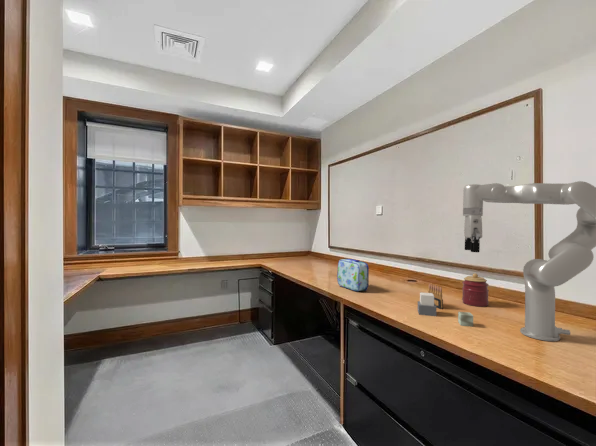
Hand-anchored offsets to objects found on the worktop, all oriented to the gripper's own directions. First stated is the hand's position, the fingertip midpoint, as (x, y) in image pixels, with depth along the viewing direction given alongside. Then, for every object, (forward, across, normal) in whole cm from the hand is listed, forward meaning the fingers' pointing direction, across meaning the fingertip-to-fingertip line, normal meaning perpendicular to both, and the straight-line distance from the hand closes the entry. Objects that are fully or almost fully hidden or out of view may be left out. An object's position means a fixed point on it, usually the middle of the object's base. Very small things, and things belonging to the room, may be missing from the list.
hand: (471, 251), depth 126 cm
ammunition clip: (+35, +31, +9) cm, 48 cm away
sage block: (+34, +4, +1) cm, 35 cm away
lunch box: (+36, +60, +58) cm, 91 cm away
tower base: (+35, +16, +15) cm, 41 cm away
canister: (+34, +44, -14) cm, 58 cm away
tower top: (+30, +16, +16) cm, 37 cm away
